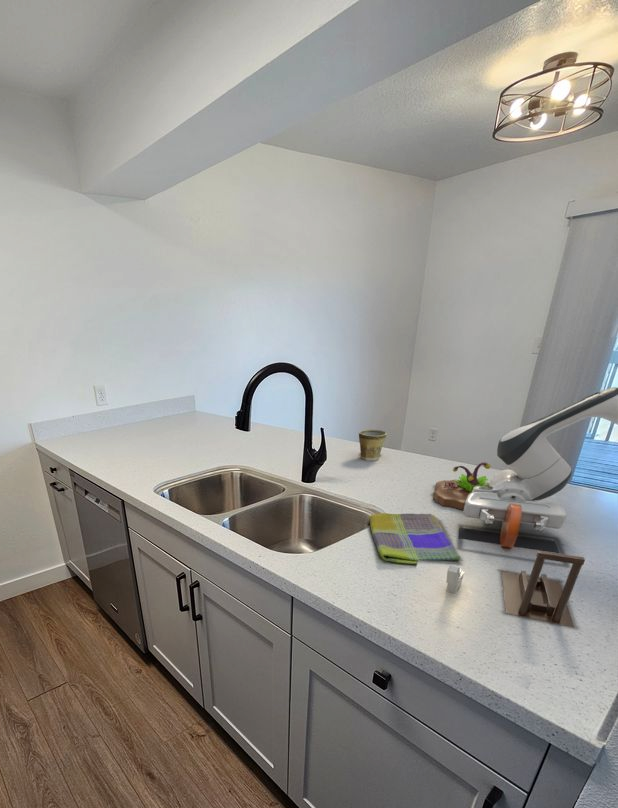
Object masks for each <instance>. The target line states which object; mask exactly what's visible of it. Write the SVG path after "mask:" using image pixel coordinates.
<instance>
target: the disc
mask: <svg viewBox="0 0 618 808" xmlns="http://www.w3.org/2000/svg"><path fill="white" fill-rule="evenodd" d="M521 515H522V507H521V505H516V504H509V505H508V507H507V511H506V514H505V517H504V522H502V523H501V529H500V533H501V534H500V545H499V546H500V547H502V548H507V549H508V548H509V549H512V548H514V547H513V546H514V544H515V541H516V538H517V536H519V533H520V527H521V524H520V523H521Z"/></svg>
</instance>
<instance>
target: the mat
mask: <svg viewBox="0 0 618 808" xmlns="http://www.w3.org/2000/svg"><path fill="white" fill-rule="evenodd" d="M500 534H501V532H496V531H495V532H494V531H488V530H481V529H473V528H466V527H459V529H458V539H459V540H464V541H465V540H466V541H473V542H479V543H484V544H485V543H487V544H492V545H499V546H501V545H500ZM512 548H520V549H524V550H525V549H526V550H532V551H544V552H551V553H557V554H561V553H560V551H559V548H558V545H557V541H556V540H552V539H545V538H538V537H532V536H531V537H530V536H525V535H524V536H523V535H517V538H516V541H515V544H514V546H513V547H512Z"/></svg>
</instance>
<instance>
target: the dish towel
mask: <svg viewBox="0 0 618 808" xmlns="http://www.w3.org/2000/svg"><path fill="white" fill-rule="evenodd" d="M368 520H369V526H370V531H371V535H372V538H373V541H374V543H375V546H376V549H377V552H378V553H379V555H380V557H381V558H382V559H383V560H384V561H387V562H392V563H398V564H406V565H418V562H419V561H423V562H425V561H426V562H456V561H460V559H461V555H459V553H458V552H457V550H456V549H455V547H454V545H453V544H452V542H451V541H450V540H449V539H448V537H447V536H446V533H445V532H444V531H443V528H442V526H441V523H440V521H439V519H438V518H437V517H436V515H434V514H432V513H386V512H379V513H374V514H372V515H370V516H369V518H368Z"/></svg>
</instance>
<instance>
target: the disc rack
mask: <svg viewBox="0 0 618 808" xmlns="http://www.w3.org/2000/svg"><path fill="white" fill-rule="evenodd" d="M545 560H546V561H553V562H559V563H566V564H571V567H570V570H569V572H568V575H567V578H566V581H565V583H564V585H563V587H562V585H561V581H560V580H556V579H555V580H554V579H549V578H548V575H547V574H545V573H541V572H542V569H543V566H544V564H545ZM585 561H586V559H585V557H583V556H577V555H570V554H563V553H560V554H559V553H552V552H546V551H539V550H537V552H536V557H535V560H534V563H533V566H532V569H531V573H530V575H527V571H526V570H520V573H515V572H508V571H502V570H501V573H500V574H501V581H502V589H503V590H502V591H503V597H504V598H503V599H504V607H505V614H507V615H512V616H517V617H522V618H525V619H531V620H536V621H541V622H545V623H549V624H555V625H559V626H565V627H569V628H575V626H574V622H573V619H572V615H571V613H570V610H569V606H568V603H569V601H570V598H571V594H572V592H573V591H574V590H573V589H574V588H575V585H576V582H577V579H578V578H579V574H580V572H581V570H582V567H583V566H584V564H585Z"/></svg>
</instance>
